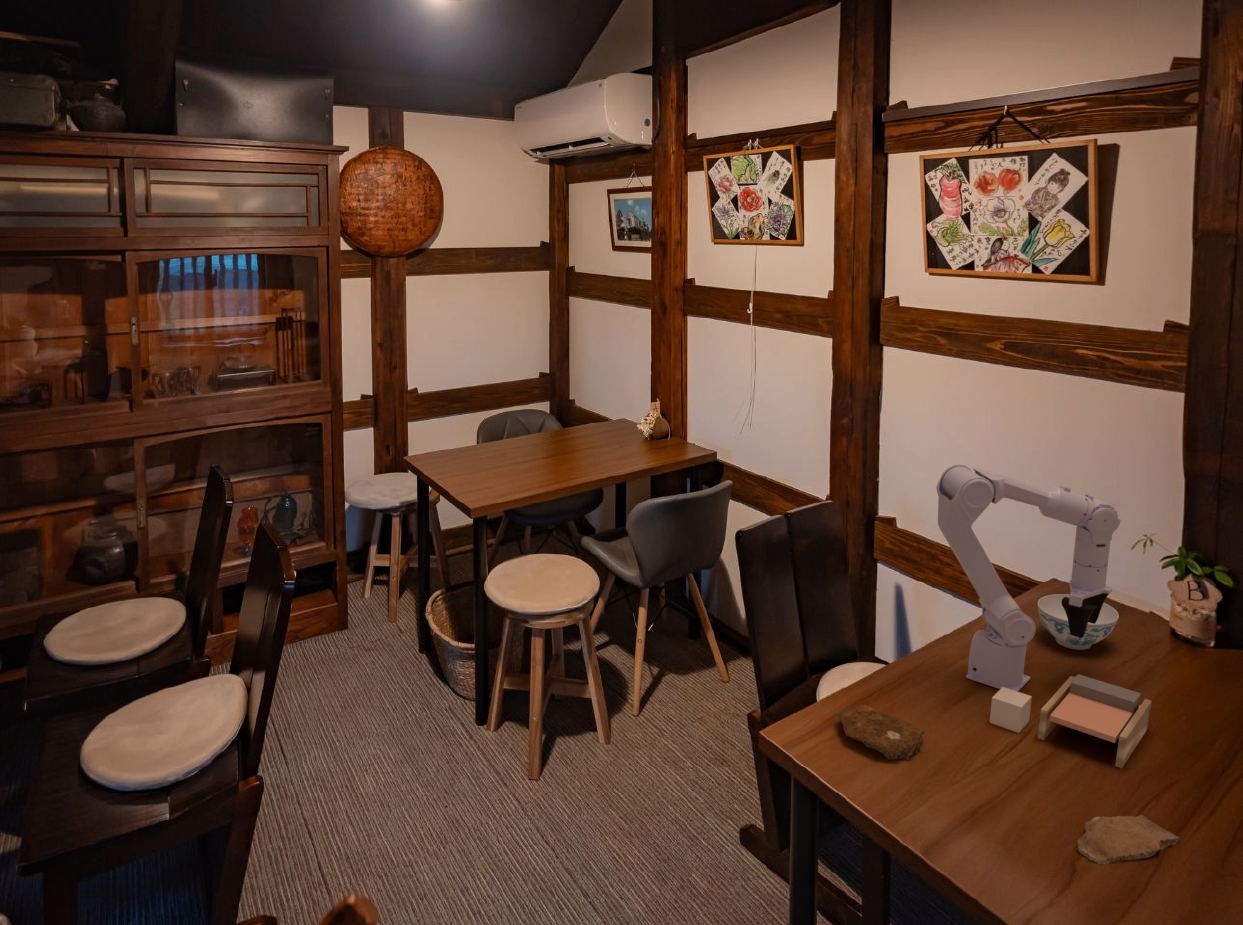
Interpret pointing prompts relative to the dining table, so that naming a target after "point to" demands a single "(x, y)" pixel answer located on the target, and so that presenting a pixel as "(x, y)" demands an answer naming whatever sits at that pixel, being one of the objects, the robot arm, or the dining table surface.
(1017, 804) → the dining table surface
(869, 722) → the decorative rock
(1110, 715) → the trapdoor
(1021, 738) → the dining table surface
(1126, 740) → the frame
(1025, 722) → the beige cube
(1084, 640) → the chinaware
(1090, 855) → the pottery shard
